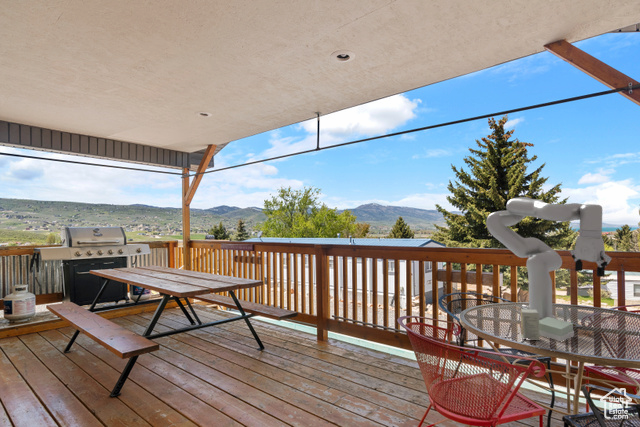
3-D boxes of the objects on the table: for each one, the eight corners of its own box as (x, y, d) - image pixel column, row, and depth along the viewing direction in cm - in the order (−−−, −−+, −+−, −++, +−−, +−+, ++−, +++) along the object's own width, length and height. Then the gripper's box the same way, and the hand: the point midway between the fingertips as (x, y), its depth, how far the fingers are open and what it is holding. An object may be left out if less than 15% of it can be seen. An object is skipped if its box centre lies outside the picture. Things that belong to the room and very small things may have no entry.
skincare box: (537, 337, 152) (537, 309, 151) (540, 341, 148) (539, 312, 147) (520, 336, 154) (520, 308, 153) (522, 340, 150) (522, 311, 149)
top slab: (535, 328, 155) (535, 322, 155) (547, 323, 160) (547, 316, 160) (561, 336, 146) (561, 329, 146) (572, 330, 151) (572, 323, 151)
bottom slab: (536, 335, 155) (536, 328, 155) (549, 330, 160) (549, 323, 160) (561, 343, 146) (561, 336, 146) (573, 337, 151) (573, 330, 151)
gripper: (564, 231, 158) (564, 269, 160) (603, 237, 142) (602, 279, 143) (578, 230, 160) (577, 268, 162) (618, 235, 143) (617, 277, 145)
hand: (589, 273), depth 152 cm, fingers open, 9 cm apart
